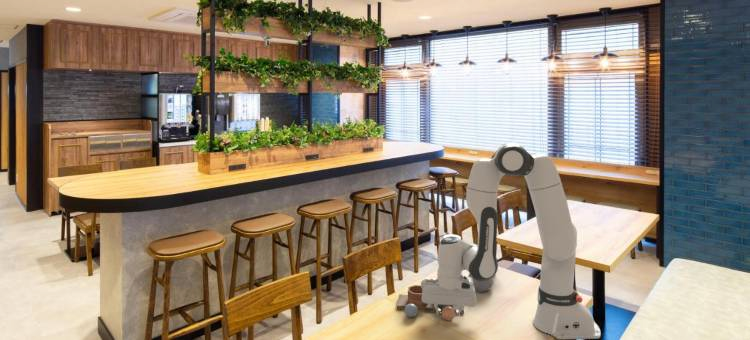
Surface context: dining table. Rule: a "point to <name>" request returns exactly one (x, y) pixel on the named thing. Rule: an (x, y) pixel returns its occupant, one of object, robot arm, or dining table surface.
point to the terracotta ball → (448, 313)
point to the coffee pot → (486, 284)
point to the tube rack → (420, 301)
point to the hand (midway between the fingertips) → (448, 314)
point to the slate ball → (411, 310)
